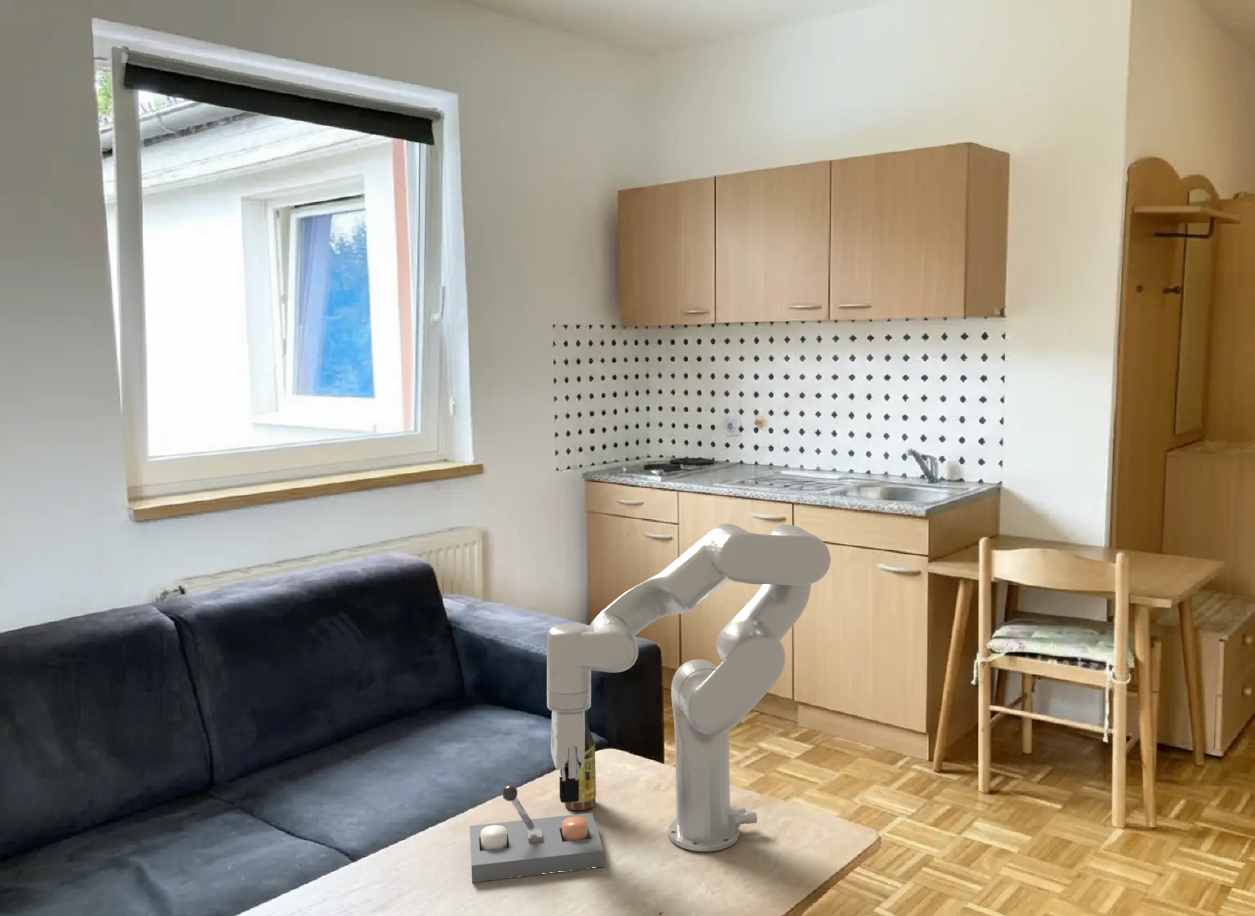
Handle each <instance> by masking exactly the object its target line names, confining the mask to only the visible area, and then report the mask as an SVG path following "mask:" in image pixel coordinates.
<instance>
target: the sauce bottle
mask: <svg viewBox="0 0 1255 916" xmlns="http://www.w3.org/2000/svg"><path fill="white" fill-rule="evenodd" d="M588 711H589V709H587V710H585V711H584V716H585V754H584V766H583V767H582V768H581V769H580V767H578V778H579V801H577V802H565V803H564V806H565V807H566V808H567V809H568V810H571V811H578V812H579V811H580V812H581V811H585V810H586V811H587V810H589V809H591V808H593V807H594V806H595V805H596V797H597V785H596V783H597V779H596V773H597V772H596V744H595V740H594V737H593V736H592V733H591V731H590V728H589V722H588Z"/></svg>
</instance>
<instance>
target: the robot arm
mask: <svg viewBox="0 0 1255 916" xmlns="http://www.w3.org/2000/svg"><path fill="white" fill-rule="evenodd" d="M831 560H832V559H831V553H830V550H829V548H828V546H827V544H826V543H825V542H824V541H823V540H822V539H821V538H819V537H818V536H815V534H812V533H810V532H809V531H807V530H805V529H803V528H801V527H798V526H796V525H793V524H780V525H778V526H776V527H774V528H773V529H772V530H771V531H770V532H769V533H768V534H762V533H753V532H749V531H748V530H746V529H744V528H743V527H741V526H738V525H736V524H732V523H721V524H719V525H717V526H714V527H713V528H712V529H710V530H709V531H708V532H707V533H705V534H704V535H703V536H702V537H700V539H699V540H697V541H696V542H695V543H694V544H693V545H691V546H690V547H689V548H688V549H687V550H686V551H684V552H683V553H682V554H681V555H679V556H678V557H677V558H676V559H675V560H674V561H673V562H671V563H670V564H669V565H668V566H667V567H665V568H664V569H662V570H661V571H660V572H659V573H658V574H656V575H653V576H651V577H649V578H647V580H645V581H642V582H640V583H639V584H637V585H635V586H634V587H633V586H632V588H630V589H629V590H627V591H625V592H624V593H623V594H621V595H620V596H619V597H617V598H616V599H615V600H614V601H612V603H610V604H609V605H608V606H607V607H606V608H604V609H603V610H601V612H599V614H598V615H597V616H596V617H594V619H593V620H592V621H591V623H590V624H589V626H588V627H586V626H584V625H581V624H576V623H564V624H558V625H554V626H553V627H551V628H550V629H549V630H548V631H547V635H546V707H547V709H548V710H549V711H551V733H550V734H551V737H550V738H551V739H550V752H551V753H550V754H551V757H552V761H553V765H554V768H555V769H556V770H557V771H560V772H559V773H560V776H559V799H560V800H559V801H560V803H562V804H563V803H564V804H565V802H577V801H579V778H578V767H580V769H581V768H582V767H583V766H584V754H585V716H584V711H585V710H587V709H588V710H589V709H590V708H591V706H592V701H591V700H592V671H596V672H604V673H621V672H625V671H627V670H628V669H631V668H632V667H633V666H634V665H635V663H636V661H637V659H638V657H639V646H638V643H637V641H636V639H635V637H636V635H638V634H639V633H640V632H641V631H642V630H644V629H645V628H646V627H648V626H649V625H650V624H653V623H654V622H655V621H658V620H659V619H662V618H664V617H667V616H671V615H673V616H674V615H681V614H683V615H684V614H685V613H686V614H687V613H690V612H692V611H693V610H695V609H697V607H698V606H699V605H700V604H702V603H703V602H704V601H705V600H707V598H709V597H710V596H711V595H713V593H715V592H716V591H717V590H718V589H719V588H721V587H722V586H723V585H724V584H726V583H727V582H728V581H731V582H734V583H739V584H740V583H741V584H746V585H747V584H748V585H761V586H760V587H759V589H758V590H757V591H756V592H755V594H754V595H753V596H752V597H751V598H750V600H748V602H747V603H746V604H745V605H744V606H743V607H742V608H741V609H740V610H739V611H738V613H737V614H735V615H734V617H733V618H732V619H730V621H729V622H727V624H725V626H724V627H723V628H722V630H721V631H720V632H719V634H718V635H717V639H716V643H715V644H716V652H717V654H718V655H719V657H720V660H722V661H721V662H720V663H719V664H718V665H716V664H714V663H713V662H710V661H708V660H706V659H701V658H699V659H697V658H695V659H691V660H688V661H686V662H684V663H683V664H681V665H680V666H679V667H678V668H677V670H676V671H675V674H673V677H672V680H671V688H670V689H671V691H670V694H671V695H670V696H671V705H672V712H673V714H672V716H673V724H674V725H673V726H674V743H675V745H674V746H675V747H674V749H675V751H674V756H675V758H674V759H675V794H676V796H675V799H676V800H675V801H676V819H674V820H673V821H671V823H670V824H669V825H668V829H667V831H668V833H667V834H668V838H669V839H670V841H671V842H672V843H673V844H675V845H676V846H677V847H680V848H681V849H685V850H688V851H692V852H701V853H702V852H705V853H707V852H716V851H721V850H725V849H727V848H729V847H731V846H733V845H734V844H735V843H737V841H738V840H739V838H740V827H741V825H745V824H747V825H751V824H757V823H758V815H757V812H756V811H749V812H747V810H746V809H747V808H746V807H739V808H733V807H731V790H730V789H731V784H730V783H731V782H730V781H731V779H730V772H731V771H730V734H729V733H730V731H731V730H732V729H733V728H735V727H736V726H737V725H738V724H739V723H740V722H742V720H743V719H744V718H745V717H747V715H748V714H749V713H750V712H751V711H752V709H754V707H755V706H756V705H757V704H758V703H759V702H760V701H761V700H762V699H763V698H764V696H766V694H767V693H769V691H770V690H772V687H774V685H776V683H778V681H779V679H780V676H781V675H782V673H783V671H784V668H785V664H786V652H785V649H784V646H783V644H782V642H781V640H782V639H783V638H784V637H785V636H786V634H787V633H788V632H789V631H790V629H791V628H792V627H793V626H794V624H795V623H796V622H797V621H798V620H799V619H800V618H801V616H802V614H803V612H804V611H805V609H806V607H807V605H808V602H809V598H810V595H811V590H812V589H811V588H812V584H815V583H817V582H819V581H820V580H822V579H824V577H825V576H826V574H827V573H828V571H829V570H830V567H831V562H832V561H831Z"/></svg>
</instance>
